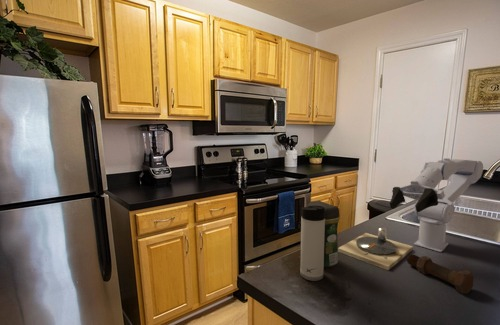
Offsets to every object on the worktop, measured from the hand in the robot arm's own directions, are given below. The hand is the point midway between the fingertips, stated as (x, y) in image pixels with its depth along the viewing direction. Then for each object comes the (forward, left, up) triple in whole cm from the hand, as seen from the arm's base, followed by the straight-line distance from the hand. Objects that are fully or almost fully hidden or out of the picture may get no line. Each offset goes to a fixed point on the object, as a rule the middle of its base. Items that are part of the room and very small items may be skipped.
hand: (403, 207), depth 78 cm
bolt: (+2, +10, -18) cm, 20 cm away
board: (-2, -8, -17) cm, 19 cm away
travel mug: (+27, -13, -17) cm, 35 cm away
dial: (-2, -8, -16) cm, 18 cm away
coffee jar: (+18, -16, -17) cm, 30 cm away
